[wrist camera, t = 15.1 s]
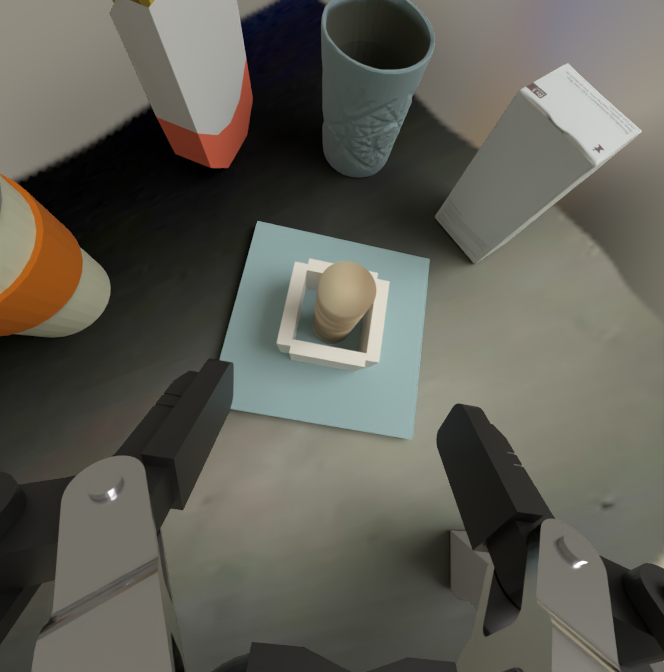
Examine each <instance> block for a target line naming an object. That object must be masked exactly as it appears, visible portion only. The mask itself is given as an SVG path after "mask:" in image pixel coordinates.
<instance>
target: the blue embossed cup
mask: <svg viewBox="0 0 664 672" xmlns="http://www.w3.org/2000/svg"><path fill="white" fill-rule="evenodd" d="M321 40H322V64H323V78H322V85H323V92H322V95H323V104H322V105H323V117H324V123H323V127H322V133H323V151H324V155H325V158H326V159H327V161H328V163H329V164H330V165H331V167H333V168H334V169H335V170H337V171H338V172H340V173H342V175H347V176H349V177H356V178H357V177H359V178H362V177H368V176H372V175H374V174H376V173H377V172H379V171H380V170H381V169H382V167H383V166H384V165H385V163H386V161H387V159H388V157H389V154H390V152H391V149H392V147H393V144H394V142H395V140H396V137H397V135H398V133H399V131H400V128H401V126H402V124H403V122H404V118H405V116H406V114H407V112H408V108H409V107H410V105H411V101H412V95H413V94H414V92H415V91H416V90H417V88H418V85H419V83H420V80H421V78H422V76H423V74H424V71H425V69H426V67H427V65H428V62H429V60H430V58H431V56H432V53H433V50H434V46H435V36H434V30H433V28H432V25H431V23H430V21H429V20H428V18H427V17H426V15H425V14H423V13H422V12H421V11H420V10H419V9H418V8H417V7H416V6H415V5H414V4H413V3H412V2H411V1H409V0H330V2H329V3H328V4H327V5H326V7H325V9H324V12H323V15H322V21H321Z"/></svg>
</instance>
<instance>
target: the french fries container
mask: <svg viewBox="0 0 664 672" xmlns="http://www.w3.org/2000/svg"><path fill="white" fill-rule="evenodd" d="M113 2H114V5H113V7H112V9H111V11H110V16H111V18H112V20H113V22H114V24H115V26H116V29H117V31H118V33H119V35H120V38H121V40H122V42H123V44H124V46H125V48H126V51H127V53H128V55H129V58H130V60H131V62H132V64H133V66H134V69H135V71H136V73H137V75H138V77H139V80H140V82H141V84H142V86H143V88H144V91H145V93H146V95H147V97H148V100H149V102H150V104H151V106H152V108H153V111H154V113H155V115H156V117H157V119H158V121H159V123H160V125H161V127H162V129H163V131H164V133H165V135H166V137H167V139H168V140H169V142H170V144H171V146H172V148H173V150H174V152H175V154H177V155H180V156H182V157H185V158H187V159H190V160H192V161H195V162H197V163H200V164H202V165H205V166H207V167H210V168H229V166H230V164H231V162H232V161H233V159H234V157H235V155H236V154H237V152H238V150H239V148H240V147H241V145H242V143H243V141H244V140H245V138H246V136H247V133H248V126H249V120H250V113H251V107H252V100H253V97H252V91H251V85H250V79H249V73H248V66H247V60H246V54H245V48H244V42H243V35H242V29H241V23H240V17H239V11H238V4H237V0H113Z"/></svg>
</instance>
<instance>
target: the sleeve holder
mask: <svg viewBox="0 0 664 672" xmlns="http://www.w3.org/2000/svg"><path fill="white" fill-rule="evenodd" d="M342 261H350V262H354V263H357V264H360V265H361V266H363V267H364V268H366V269H367V270H368V271H369V272H370V273H371V275H372V276H373V278H374V281H375V284H376V297H375V300H374V302H373V304H372V305H371V307H370V308H369V309H368V310H367V312H366V313H365V314H364V315H363V317H362V318H361V319H360V320H359V322H358V323H357V324H356V325H355V327H354V328H353V329H352V330H351V332H350V333H349V334H348V335H347V337H346V338H345V339H344V340H342V341H341V342H339V343H335V344H328V343H325V342H323V341H321V340H319V339H318V338H317V337H316V335H315V334H314V332H313V329H312V321H313V315H314V309H315V303H316V297H317V291H318V285H319V280H320V277H321V275H322V274H323V272H324V271H325V270H326V269H327V268H328V267H329V266H331V265H332V264H334V263H337V262H342ZM429 262H430V259H427V258H423V257H418V256H414V255H409V254H405V253H400V252H396V251H391V250H387V249H382V248H378V247H373V246H368V245H364V244H359V243H355V242H350V241H346V240H341V239H337V238H332V237H328V236H323V235H319V234H314V233H310V232H305V231H300V230H296V229H291V228H287V227H282V226H278V225H273V224H269V223H264V222H260V221H257V224H256V228H255V231H254V235H253V239H252V242H251V246H250V250H249V253H248V257H247V261H246V264H245V268H244V272H243V275H242V279H241V283H240V286H239V290H238V294H237V297H236V301H235V305H234V308H233V312H232V316H231V319H230V323H229V327H228V330H227V334H226V338H225V341H224V345H223V349H222V352H221V356H220V360H222V361H228V362H232V363H233V365H234V387H233V401H232V405H231V408H230V409H234V410H240V411H246V412H251V413H257V414H263V415H269V416H275V417H281V418H287V419H293V420H298V421H304V422H310V423H316V424H322V425H328V426H334V427H340V428H346V429H351V430H357V431H363V432H369V433H375V434H381V435H387V436H393V437H398V438H404V439H410V440H413V432H414V422H415V411H416V400H417V390H418V379H419V368H420V358H421V347H422V336H423V326H424V315H425V304H426V294H427V283H428V273H429Z"/></svg>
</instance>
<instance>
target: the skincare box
mask: <svg viewBox="0 0 664 672" xmlns="http://www.w3.org/2000/svg"><path fill="white" fill-rule="evenodd" d="M641 132H642V131H641V130H640V129H639V128H638V127H637V126H636V125H635V124H633V123H632V122H631V121H630V120H629V119H628V118H627V117H626V116H624V115H623V114H622V113H621V112H620V111H619V110H617V109H616V108H615V107H614V106H613V105H612V104H611V103H609V101H607V100H606V99H605V98H604V97H603V96H602V95H601V94H600V93H599V92H598V91H597V90H596V89H594V88H593V87H592V86H591V85H590V84H589V83H588V82H587V81H586V80H585V79H584V78H582V77H581V76H580V75H579V74H578V73H577V72H576V71H575V70H574V69H573V68H572V67H571V66H570V65H569V64H565V65H563V66H561V67H559V68H558V69H556V70H554V71H552V72H551V73H549V74H547V75H546V76H544V77H542V78H540V79H538V80H537V81H535V82H533V83H532V84H530V85H528V86H526V87H524V88H522V89H520V90H519V91H518V92H517V94H516V95H515V97H514V98H513V100H512V101H511V103H510V104H509V106H508V107H507V109H506V111H505V112H504V113H503V115H502V116H501V118H500V119H499V121H498V122H497V124H496V126H495V127H494V129H493V130H492V131H491V133H490V134H489V136H488V138H487V139H486V140H485V142H484V143H483V145H482V146H481V148H480V149H479V151H478V152H477V154H476V155H475V157H474V158H473V160H472V161H471V163H470V164H469V166H468V167H467V169H466V170H465V172H464V173H463V175H462V176H461V178H460V179H459V181H458V182H457V184H456V185H455V187H454V188H453V190H452V191H451V193H450V194H449V196H448V197H447V199H446V200H445V202H444V203H443V205H442V206H441V208H440V209H439V211H438V212H437V214H436V215H435V218H436V220H437V221H438V222H439V223H440V224H441V225H442V227H443V228H444V229H445V230H446V231H447V233H448V234H449V235H450V236H451V237H452V238H453V240H454V241H455V242H456V243H457V244H458V245H459V247H460V248H461V249H462V250H463V251H464V253H465V254H466V255H467V256H468V257H469V258H470V260H471V261H472V262H473V263H474V264H476V263H478V262H479V261H481V260H482V259H483V258H485V257H486V256H488V255H489V254H491V253H492V252H494V251H495V250H496V249H498V248H499V247H501V246H502V245H504V244H505V243H506V242H508V241H509V240H510V239H511V238H513V237H514V236H515V235H517V234H518V233H519V232H520V231H521V230H523V229H524V228H525V227H526V226H528V225H529V224H530V223H531V222H533V221H534V220H535V219H536V218H537V217H539V216H540V215H541V214H542V213H543V212H545V211H546V210H547V209H548V208H550V207H551V206H552V205H553V204H555V203H556V202H557V201H558V200H560V199H561V198H562V197H563V196H564V195H566V194H567V193H568V192H569V191H571V190H572V189H573V188H574V187H576V186H577V185H578V184H579V183H581V182H582V181H583V180H584V179H586V178H587V177H588V176H589V175H591V174H592V173H593V172H594V171H596V170H597V169H598V168H599V167H601V166H602V165H603V164H604V163H605V162H606V161H608V160H609V159H610V158H611V157H613V156H614V155H615V154H616V153H617V152H619V151H620V150H621V149H622V148H623V147H625V146H626V145H627V144H628V143H629V142H630V141H632V140H633V139H634V138H635V137H636V136H638V135H639V134H640V133H641Z"/></svg>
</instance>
